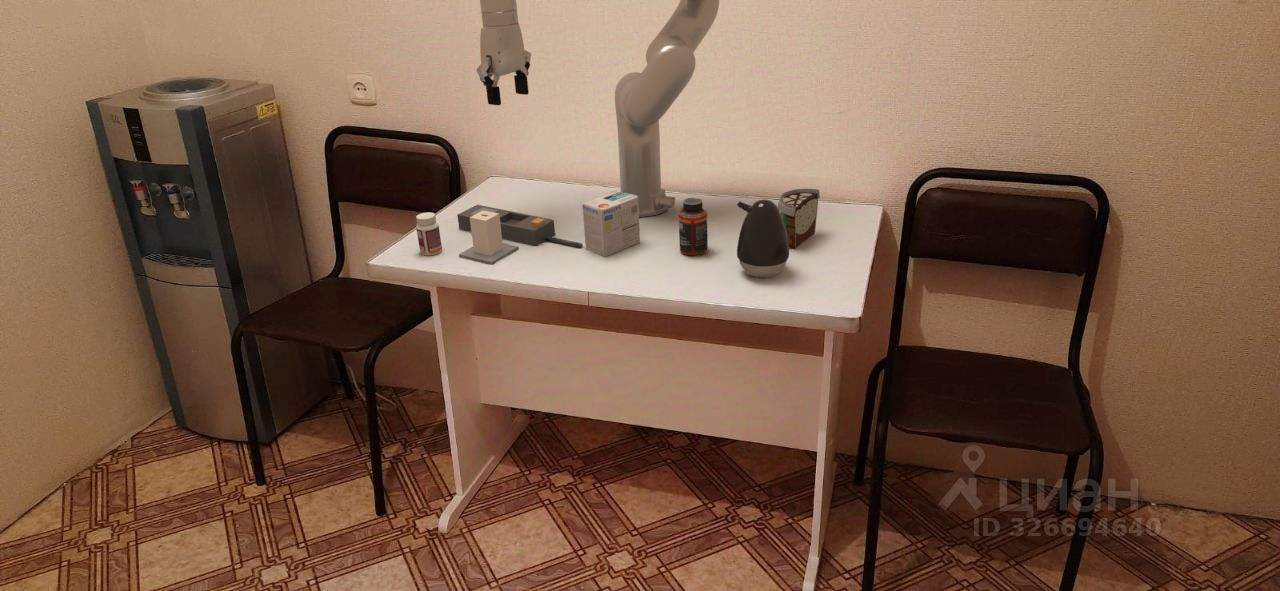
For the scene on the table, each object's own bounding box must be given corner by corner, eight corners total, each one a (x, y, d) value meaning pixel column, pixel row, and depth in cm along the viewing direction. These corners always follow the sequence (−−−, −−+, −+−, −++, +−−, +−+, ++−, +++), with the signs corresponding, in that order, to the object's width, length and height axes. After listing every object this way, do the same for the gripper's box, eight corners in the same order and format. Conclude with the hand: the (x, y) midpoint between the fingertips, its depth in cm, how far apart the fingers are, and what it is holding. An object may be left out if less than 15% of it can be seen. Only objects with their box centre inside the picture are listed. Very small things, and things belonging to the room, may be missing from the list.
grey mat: (518, 249, 195) (518, 246, 194) (491, 264, 188) (491, 262, 188) (486, 241, 199) (486, 239, 199) (459, 256, 192) (458, 254, 192)
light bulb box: (620, 234, 200) (617, 188, 195) (641, 242, 195) (639, 195, 191) (584, 249, 193) (580, 202, 188) (605, 257, 189) (602, 209, 184)
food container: (792, 227, 200) (794, 184, 195) (817, 232, 196) (820, 188, 192) (765, 246, 191) (767, 201, 186) (792, 252, 188) (794, 207, 183)
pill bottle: (445, 247, 197) (439, 211, 194) (438, 256, 193) (433, 219, 189) (424, 247, 198) (418, 211, 194) (417, 256, 194) (411, 219, 190)
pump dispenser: (744, 258, 186) (745, 188, 179) (793, 265, 182) (796, 193, 175) (729, 279, 177) (729, 206, 170) (781, 286, 174) (783, 212, 167)
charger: (503, 248, 194) (499, 213, 190) (490, 255, 190) (485, 220, 187) (487, 244, 196) (482, 210, 192) (474, 252, 193) (469, 217, 189)
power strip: (591, 242, 196) (590, 223, 194) (573, 254, 191) (571, 234, 189) (479, 218, 212) (476, 201, 210) (459, 229, 206) (456, 211, 204)
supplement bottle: (712, 248, 191) (712, 198, 186) (699, 259, 186) (699, 207, 181) (687, 243, 194) (686, 194, 189) (674, 254, 189) (673, 203, 184)
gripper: (511, 11, 199) (519, 88, 206) (459, 25, 186) (469, 107, 193) (538, 12, 195) (545, 91, 203) (487, 27, 182) (497, 110, 190)
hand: (508, 99), depth 198 cm, fingers open, 9 cm apart
